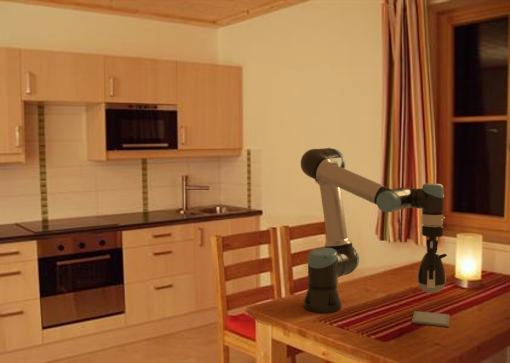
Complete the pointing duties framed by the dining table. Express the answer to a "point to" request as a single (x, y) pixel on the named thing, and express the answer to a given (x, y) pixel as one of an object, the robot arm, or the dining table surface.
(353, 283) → the dining table surface
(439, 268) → the pump dispenser
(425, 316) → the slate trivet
